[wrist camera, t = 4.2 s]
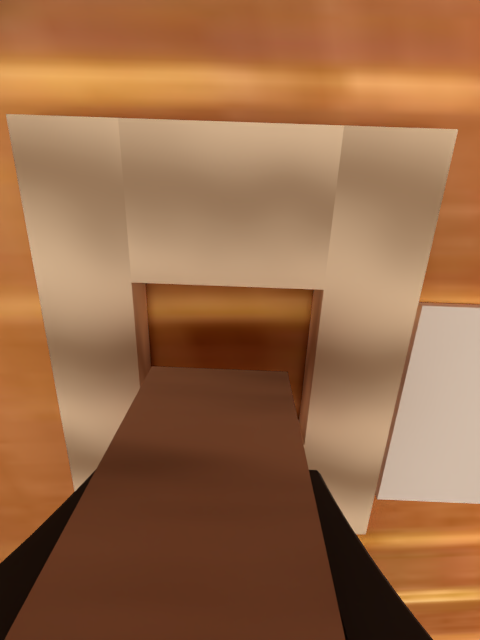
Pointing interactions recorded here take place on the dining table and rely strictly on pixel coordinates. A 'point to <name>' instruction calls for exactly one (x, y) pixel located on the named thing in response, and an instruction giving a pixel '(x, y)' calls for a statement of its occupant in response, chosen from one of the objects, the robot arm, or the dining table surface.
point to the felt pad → (437, 411)
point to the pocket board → (232, 260)
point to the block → (193, 523)
